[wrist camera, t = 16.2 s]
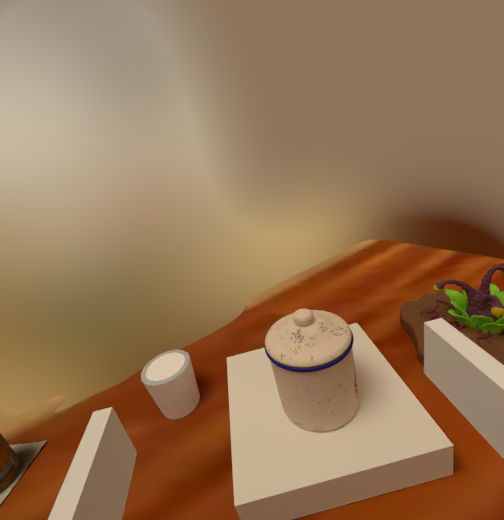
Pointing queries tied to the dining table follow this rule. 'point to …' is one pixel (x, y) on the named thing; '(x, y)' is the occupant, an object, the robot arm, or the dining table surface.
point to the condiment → (15, 463)
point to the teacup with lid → (314, 368)
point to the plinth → (328, 441)
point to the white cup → (172, 383)
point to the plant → (461, 314)
